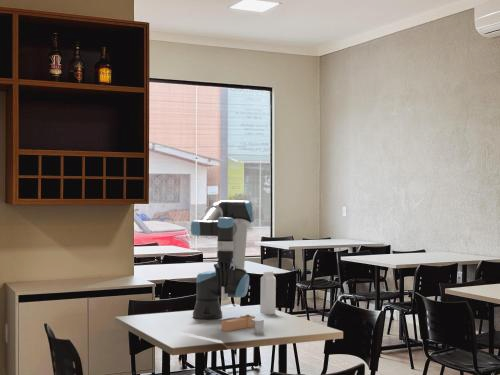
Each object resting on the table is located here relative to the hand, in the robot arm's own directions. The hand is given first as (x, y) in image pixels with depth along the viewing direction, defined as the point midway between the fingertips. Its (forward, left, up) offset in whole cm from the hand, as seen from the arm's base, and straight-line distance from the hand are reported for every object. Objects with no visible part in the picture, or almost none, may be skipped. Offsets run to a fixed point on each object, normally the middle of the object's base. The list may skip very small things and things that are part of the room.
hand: (224, 300), depth 328 cm
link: (+7, +2, -12) cm, 14 cm away
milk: (-13, +46, -14) cm, 50 cm away
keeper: (+20, +1, -12) cm, 24 cm away
